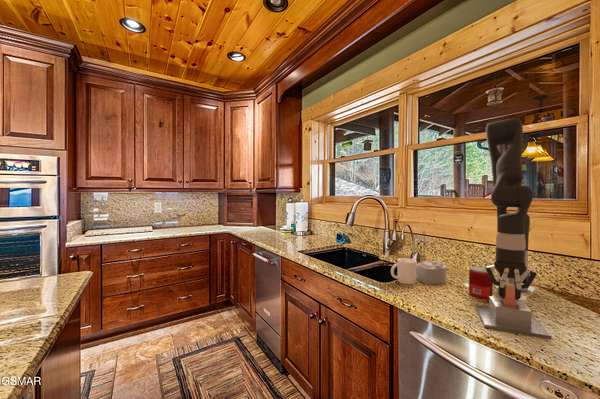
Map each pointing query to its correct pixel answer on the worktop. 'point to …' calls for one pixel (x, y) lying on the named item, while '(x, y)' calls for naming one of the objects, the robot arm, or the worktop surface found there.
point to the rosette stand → (510, 317)
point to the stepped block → (509, 295)
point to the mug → (405, 271)
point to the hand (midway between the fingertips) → (509, 298)
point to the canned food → (480, 282)
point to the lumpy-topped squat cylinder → (431, 272)
